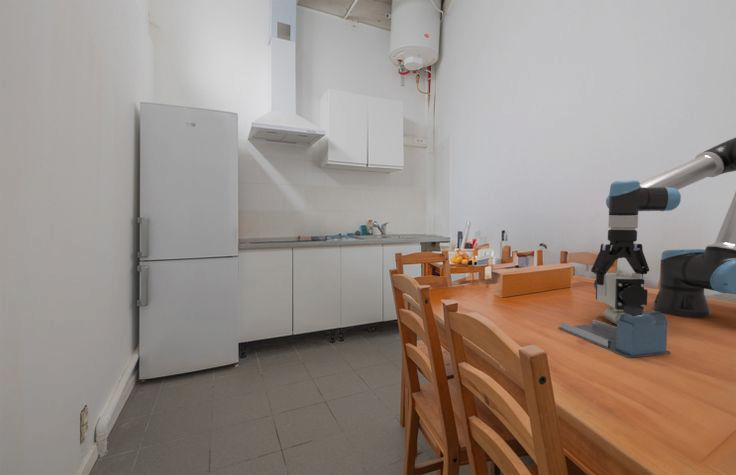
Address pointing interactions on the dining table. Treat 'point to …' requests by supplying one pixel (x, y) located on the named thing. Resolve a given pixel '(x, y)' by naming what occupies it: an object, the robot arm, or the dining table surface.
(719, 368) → the dining table surface
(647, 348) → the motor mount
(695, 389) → the dining table surface
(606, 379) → the dining table surface
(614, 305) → the ball valve
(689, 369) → the dining table surface
